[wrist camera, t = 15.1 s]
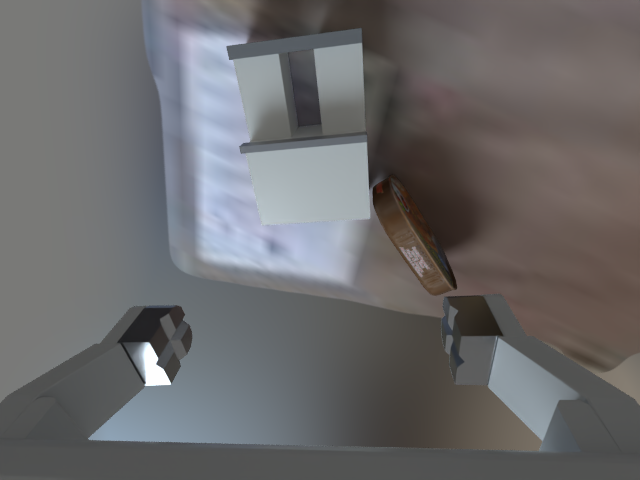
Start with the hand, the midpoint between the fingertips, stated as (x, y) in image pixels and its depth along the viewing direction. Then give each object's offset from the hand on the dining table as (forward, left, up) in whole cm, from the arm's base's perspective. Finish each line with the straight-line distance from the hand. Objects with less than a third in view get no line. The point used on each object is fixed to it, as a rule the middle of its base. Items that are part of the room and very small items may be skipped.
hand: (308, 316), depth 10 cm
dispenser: (+3, 0, -29) cm, 29 cm away
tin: (-7, +12, -29) cm, 33 cm away
